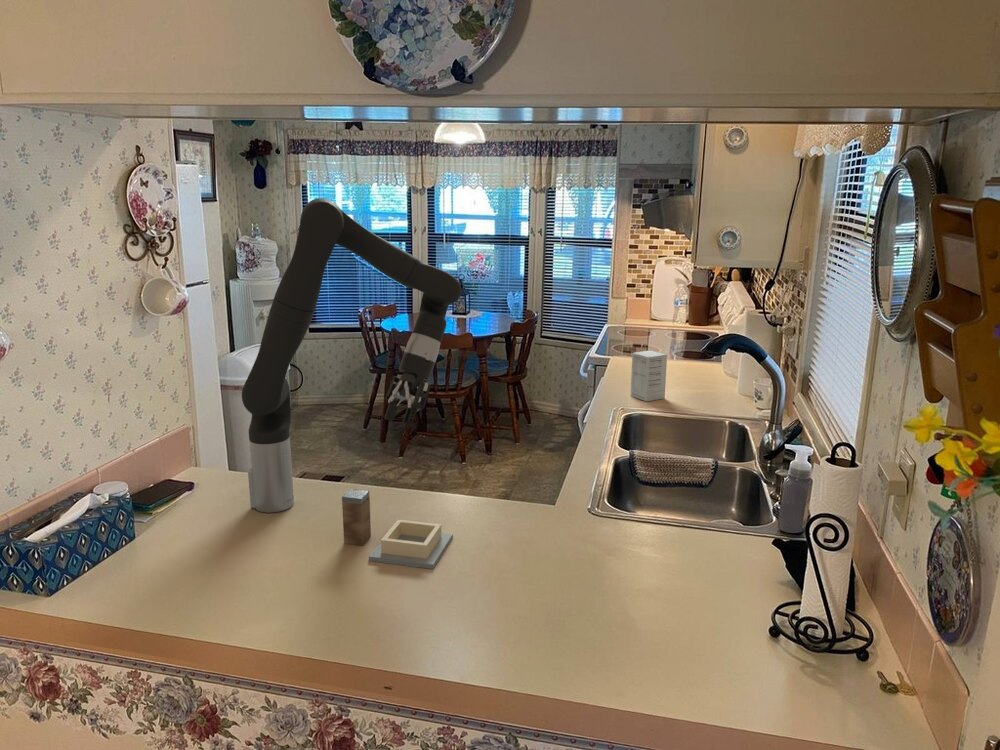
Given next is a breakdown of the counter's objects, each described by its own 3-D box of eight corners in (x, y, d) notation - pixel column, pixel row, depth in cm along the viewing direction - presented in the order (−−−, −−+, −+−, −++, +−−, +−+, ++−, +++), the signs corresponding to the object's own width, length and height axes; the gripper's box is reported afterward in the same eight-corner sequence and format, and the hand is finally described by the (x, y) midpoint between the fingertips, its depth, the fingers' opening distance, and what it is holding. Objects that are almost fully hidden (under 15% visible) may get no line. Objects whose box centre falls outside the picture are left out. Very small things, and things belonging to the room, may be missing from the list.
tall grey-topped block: (344, 543, 159) (341, 496, 156) (352, 534, 163) (350, 488, 160) (362, 546, 158) (361, 498, 155) (370, 536, 162) (369, 490, 159)
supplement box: (665, 398, 272) (668, 354, 268) (646, 402, 267) (649, 357, 263) (648, 392, 280) (650, 349, 276) (629, 395, 275) (631, 352, 271)
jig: (368, 560, 152) (368, 543, 151) (393, 531, 165) (392, 514, 164) (433, 569, 149) (432, 551, 148) (452, 538, 162) (452, 521, 161)
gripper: (392, 349, 174) (369, 413, 172) (422, 353, 162) (398, 422, 160) (417, 359, 178) (395, 422, 176) (449, 364, 167) (426, 431, 165)
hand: (397, 422), depth 168 cm, fingers open, 8 cm apart
